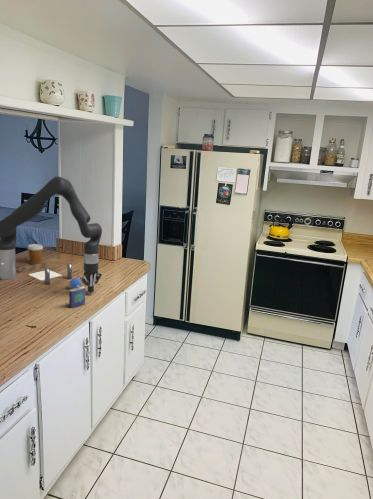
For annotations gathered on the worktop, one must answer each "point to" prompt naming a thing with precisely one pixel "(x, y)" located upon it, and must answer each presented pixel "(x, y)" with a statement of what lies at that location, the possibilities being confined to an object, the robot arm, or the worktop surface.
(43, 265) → the stopper wall
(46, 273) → the left post
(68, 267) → the right post
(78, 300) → the flask
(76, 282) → the ball
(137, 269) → the worktop surface
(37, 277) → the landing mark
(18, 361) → the worktop surface
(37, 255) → the disposable coffee cup
